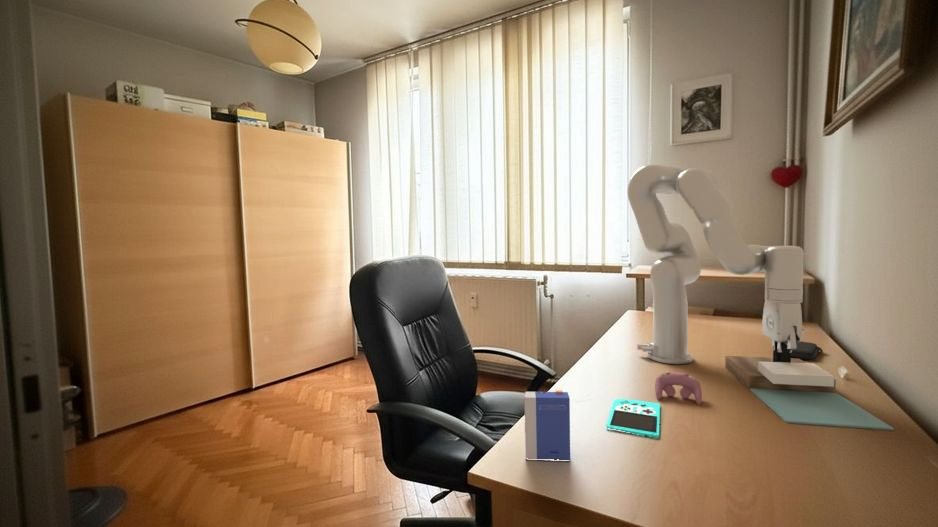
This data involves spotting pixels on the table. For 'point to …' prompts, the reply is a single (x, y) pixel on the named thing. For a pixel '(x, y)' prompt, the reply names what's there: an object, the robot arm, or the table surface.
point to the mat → (818, 409)
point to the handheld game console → (635, 417)
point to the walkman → (547, 425)
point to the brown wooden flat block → (752, 378)
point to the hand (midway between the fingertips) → (781, 366)
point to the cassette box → (795, 373)
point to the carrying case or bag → (805, 351)
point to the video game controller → (679, 379)
